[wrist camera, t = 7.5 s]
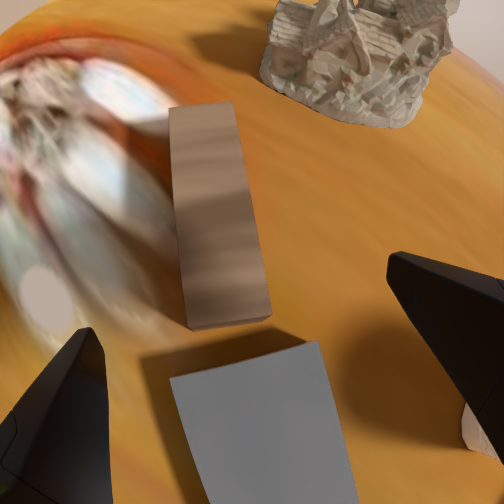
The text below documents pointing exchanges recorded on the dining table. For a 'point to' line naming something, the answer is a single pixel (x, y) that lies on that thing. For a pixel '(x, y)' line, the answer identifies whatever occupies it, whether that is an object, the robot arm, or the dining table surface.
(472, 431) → the white cup
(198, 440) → the slate board
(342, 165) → the dining table surface
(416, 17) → the ceramic cottage
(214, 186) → the walnut block
